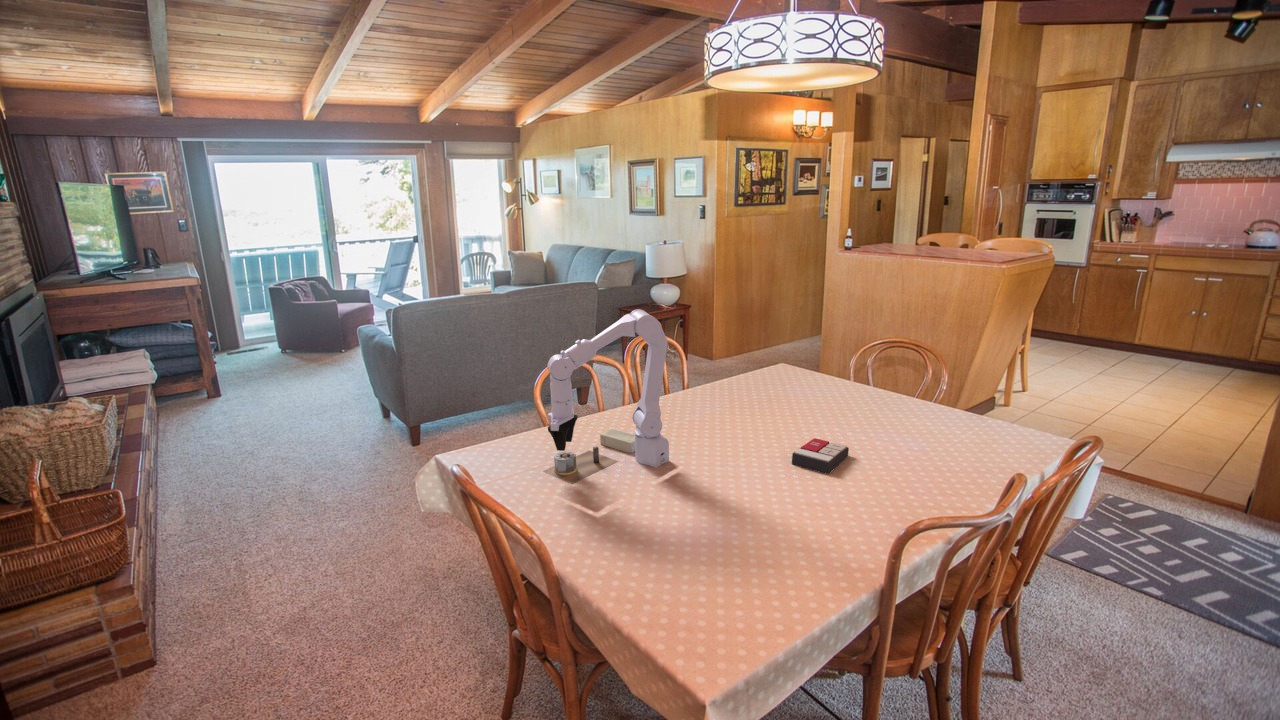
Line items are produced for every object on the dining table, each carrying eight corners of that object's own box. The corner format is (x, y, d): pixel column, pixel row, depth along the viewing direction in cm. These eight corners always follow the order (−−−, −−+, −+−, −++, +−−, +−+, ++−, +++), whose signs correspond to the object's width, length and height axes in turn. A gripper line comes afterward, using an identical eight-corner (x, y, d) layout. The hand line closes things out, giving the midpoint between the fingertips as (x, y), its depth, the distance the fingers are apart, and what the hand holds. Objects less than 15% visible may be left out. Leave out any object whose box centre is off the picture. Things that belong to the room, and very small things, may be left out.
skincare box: (600, 446, 191) (630, 457, 184) (599, 433, 190) (630, 443, 182) (613, 440, 196) (643, 449, 188) (613, 427, 194) (643, 436, 187)
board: (618, 464, 179) (618, 445, 177) (572, 487, 166) (571, 467, 164) (589, 453, 186) (588, 435, 185) (543, 474, 173) (541, 455, 172)
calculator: (849, 444, 180) (829, 460, 169) (848, 458, 181) (828, 475, 170) (813, 436, 187) (792, 450, 175) (812, 449, 188) (791, 465, 176)
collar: (578, 465, 175) (577, 452, 174) (572, 473, 170) (571, 460, 169) (559, 463, 176) (558, 450, 175) (552, 472, 171) (552, 459, 170)
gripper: (556, 389, 175) (558, 434, 179) (538, 407, 162) (541, 455, 165) (580, 391, 174) (582, 436, 178) (564, 408, 160) (567, 457, 164)
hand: (564, 445), depth 171 cm, fingers open, 5 cm apart
